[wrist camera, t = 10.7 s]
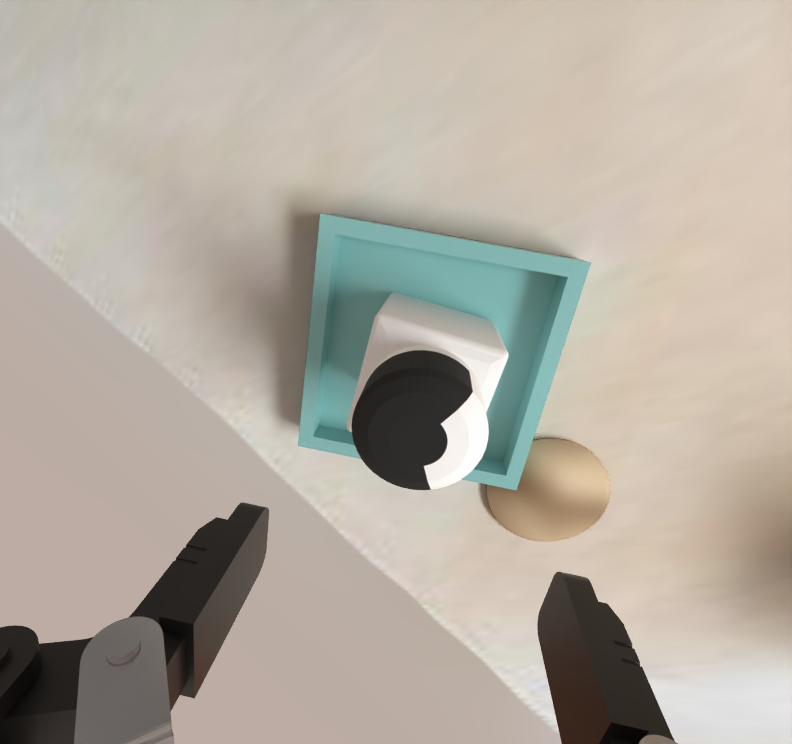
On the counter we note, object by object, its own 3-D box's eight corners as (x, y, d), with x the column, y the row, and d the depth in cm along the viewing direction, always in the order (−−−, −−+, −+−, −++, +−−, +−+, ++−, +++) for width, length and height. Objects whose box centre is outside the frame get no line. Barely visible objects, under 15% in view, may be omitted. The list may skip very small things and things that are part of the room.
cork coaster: (503, 427, 31) (504, 430, 30) (626, 451, 31) (628, 455, 30) (475, 524, 34) (475, 528, 34) (585, 547, 34) (587, 551, 33)
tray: (330, 214, 27) (320, 213, 25) (578, 259, 26) (590, 262, 24) (307, 430, 33) (297, 445, 30) (511, 471, 32) (516, 490, 30)
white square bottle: (365, 385, 30) (320, 484, 19) (391, 289, 28) (356, 338, 16) (460, 413, 30) (471, 528, 19) (495, 320, 28) (531, 390, 16)
